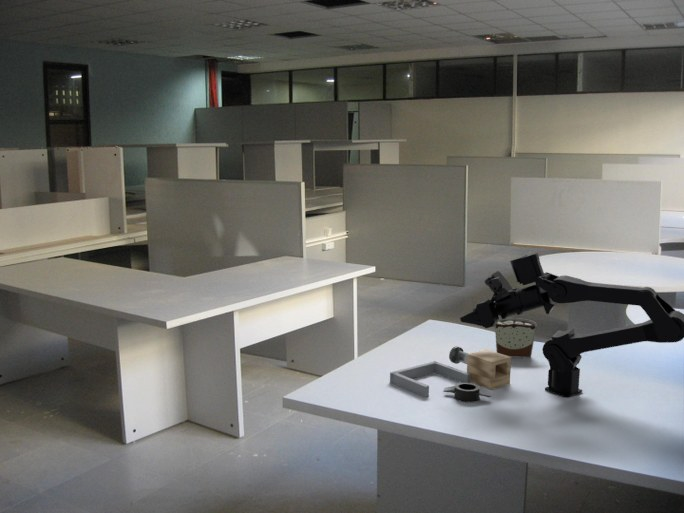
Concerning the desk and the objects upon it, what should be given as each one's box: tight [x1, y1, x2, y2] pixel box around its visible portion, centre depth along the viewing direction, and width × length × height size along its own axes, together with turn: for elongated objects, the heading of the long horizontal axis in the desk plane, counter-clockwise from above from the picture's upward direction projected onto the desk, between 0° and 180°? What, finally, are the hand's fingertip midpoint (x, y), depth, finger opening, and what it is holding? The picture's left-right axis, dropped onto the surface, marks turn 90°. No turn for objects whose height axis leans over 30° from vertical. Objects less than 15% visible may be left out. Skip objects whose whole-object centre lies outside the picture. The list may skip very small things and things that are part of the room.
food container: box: [492, 317, 539, 359], centre depth 198 cm, size 12×6×10 cm, turn 84°
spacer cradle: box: [389, 360, 471, 398], centre depth 174 cm, size 13×16×2 cm
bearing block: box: [466, 348, 512, 391], centre depth 174 cm, size 8×7×7 cm
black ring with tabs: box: [442, 382, 492, 403], centre depth 164 cm, size 8×10×3 cm
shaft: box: [448, 345, 470, 365], centre depth 178 cm, size 12×4×4 cm, turn 37°
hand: (467, 315), depth 179 cm, fingers open, 9 cm apart
